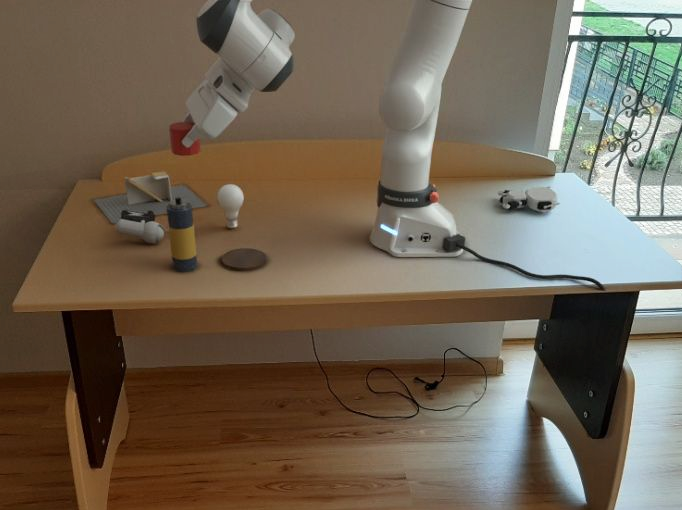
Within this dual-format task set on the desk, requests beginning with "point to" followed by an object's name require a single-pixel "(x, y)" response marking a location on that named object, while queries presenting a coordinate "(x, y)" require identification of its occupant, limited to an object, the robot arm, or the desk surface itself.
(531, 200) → the robot toy
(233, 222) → the lightbulb
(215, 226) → the desk surface
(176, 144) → the cap
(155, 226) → the clip-on lamp
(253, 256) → the coaster
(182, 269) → the spray can
